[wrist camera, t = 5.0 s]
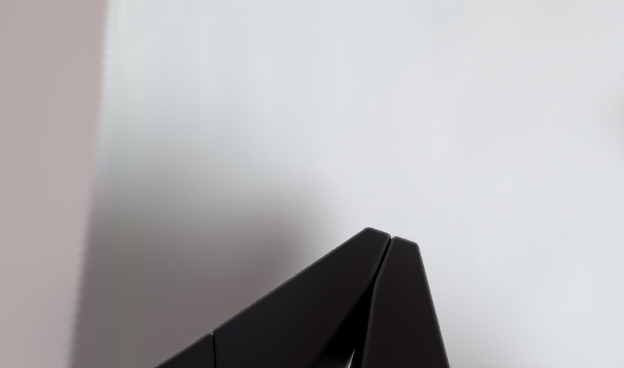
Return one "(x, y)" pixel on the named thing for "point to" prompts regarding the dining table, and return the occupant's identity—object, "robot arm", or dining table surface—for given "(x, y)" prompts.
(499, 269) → the dining table surface
